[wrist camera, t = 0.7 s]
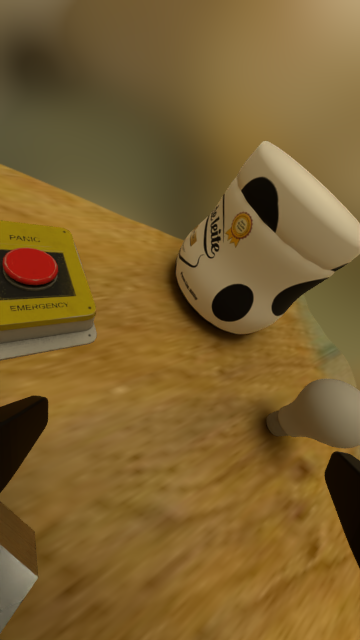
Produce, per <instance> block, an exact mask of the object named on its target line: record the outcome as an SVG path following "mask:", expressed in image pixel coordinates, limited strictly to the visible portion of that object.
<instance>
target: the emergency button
mask: <svg viewBox="0 0 360 640" xmlns="http://www.w3.org/2000/svg"><path fill="white" fill-rule="evenodd" d="M95 314H96V306H95V303H94V300H93V297H92V294H91V291H90V288H89V285H88V282H87V279H86V276H85V273H84V270H83V267H82V264H81V261H80V258H79V255H78V252H77V249H76V246H75V243H74V240H73V237H72V234H71V233H70V231H68V230H67V229H64V228H60V227H52V226H44V225H35V224H27V223H18V222H10V221H1V220H0V360H5V359H10V358H16V357H21V356H26V355H32V354H37V353H42V352H48V351H53V350H58V349H64V348H69V347H74V346H80V345H85V344H90V343H92V342H94V340H95V339H96V337H97V335H96V329H95V326H94V323H93V321H94V317H95Z"/></svg>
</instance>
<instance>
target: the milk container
mask: <svg viewBox="0 0 360 640" xmlns="http://www.w3.org/2000/svg"><path fill="white" fill-rule="evenodd" d="M359 254H360V223H359V222H358V221H357V220H356V218H355V217H354V216H353V215H352V214H351V213H350V212H349V211H348V210H347V208H346V207H345V206H344V205H343V204H342V203H341V202H340V201H339V200H338V199H337V198H336V197H335V196H334V195H333V194H332V193H331V192H330V191H329V190H328V189H327V188H326V187H324V186H323V185H322V184H321V183H320V182H319V181H318V180H317V179H316V178H315V177H313V175H312V174H310V173H309V172H308V171H307V170H306V169H305V168H304V167H302V166H301V165H300V164H299V163H298V162H296V161H295V160H294V159H293V158H292V157H290V156H289V155H288V154H286V153H285V152H284V151H282V150H281V149H279V148H278V147H277V146H275V145H273V144H271V143H270V142H268V141H263V142H262V143H261V144H260V145H259V146H258V147H257V149H256V150H255V151H254V152H253V153H252V155H251V156H250V157H249V158H248V160H247V161H246V162H245V163H244V165H243V167H242V168H241V170H240V171H239V173H238V175H237V177H236V178H235V179H234V180H233V181H232V183H231V184H230V186H229V187H228V189H227V190H226V192H225V194H224V195H223V197H222V198H221V200H220V202H219V203H218V205H217V206H216V208H215V209H214V210H213V211H212V213H211V214H210V215H209V216H208V217H207V218H206V219H205V220H204V221H202V222H201V223H200V224H199V225H198V226H197V227H196V228H194V229H193V231H191V233H190V234H189V235H188V236H187V238H186V239H185V241H184V242H183V244H182V246H181V249H180V251H179V253H178V256H177V259H176V266H175V273H176V278H177V283H178V286H179V288H180V290H181V292H182V294H183V295H184V297H185V299H186V300H187V302H188V303H189V305H190V306H191V307H192V308H193V309H194V310H195V311H196V312H197V313H198V314H199V315H200V316H201V317H202V318H203V319H204V320H206V321H207V322H209V323H210V324H212V325H213V326H215V327H217V328H218V329H220V330H223V331H226V332H229V333H233V334H249V333H253V332H256V331H259V330H261V329H263V328H265V327H267V326H269V325H271V324H272V323H274V322H275V321H276V320H278V319H279V318H280V317H281V316H282V315H283V314H284V313H285V312H286V310H287V309H288V308H289V307H290V306H291V305H292V303H293V302H294V301H295V300H296V299H297V298H299V297H300V296H301V295H302V294H304V293H305V292H307V291H308V290H310V289H311V288H313V287H315V286H316V285H318V284H319V283H321V282H323V281H324V280H325V279H327V278H329V277H330V276H331V275H332V274H333V273H334V272H335V271H336V270H338V269H340V268H342V267H343V266H345V265H346V264H348V263H349V262H350V261H352V260H353V259H354V258H355V257H357V256H358V255H359Z"/></svg>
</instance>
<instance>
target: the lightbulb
mask: <svg viewBox="0 0 360 640" xmlns="http://www.w3.org/2000/svg"><path fill="white" fill-rule="evenodd" d="M266 421H267V426H268V429H269V430H270V432H271V433H272V434H273V435H275V436H288V435H289V436H292V437H300V436H301V437H308V438H312V439H315V440H317V441H319V442H322V443H324V444H327V445H330V446H332V447H338V448H352V447H355V446H358V445H360V391H359V390H358V389H356V388H355V387H353V386H352V385H350V384H348V383H345V382H343V381H339V380H335V379H320V380H316V381H313V382H311V383H310V384H308V385H307V386H305V388H304V389H303V390H302V391H301V392H300V394H299V395H298V396H297V398H296V399H295V400H294V401H293V402H292V403H290V404H289V405H287V406H284V407H282V408H281V409H280V410H279V411H276V412H273V413H271V414H269V415H268V416H267V420H266Z"/></svg>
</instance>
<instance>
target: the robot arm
mask: <svg viewBox="0 0 360 640" xmlns="http://www.w3.org/2000/svg"><path fill="white" fill-rule="evenodd" d="M47 422H48V399H47V398H46V397H41V396H30V397H28V398H25V399H22V400H19V401H16V402H13V403H10V404H7V405H4V406H2V407H0V493H1V491H2V490H3V489H4V488H5V486H6V485H7V484H8V482H9V481H10V480H11V478H12V477H13V476H14V474H15V473H16V471H17V470H18V468H19V467H20V465H21V464H22V462H23V461H24V459H25V458H26V456H27V455H28V453H29V452H30V450H31V449H32V447H33V446H34V444H35V442H36V441H37V439H38V438H39V436H40V435H41V433H42V432H43V430H44V429H45V427H46V425H47ZM325 481H326V484H327V487H328V490H329V492H330V495H331V498H332V500H333V503H334V506H335V508H336V511H337V514H338V517H339V519H340V522H341V525H342V527H343V530H344V533H345V535H346V538H347V541H348V543H349V546H350V548H351V550H352V552H353V555H354V557H355V559H356V561H357V564H358V566H359V568H360V461H359V460H358V459H356V458H355V457H354V456H352V455H350V454H348V453H343V452H338V451H336V452H334V453H332V455H331V458H330V460H329V463H328V465H327V468H326V470H325Z"/></svg>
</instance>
